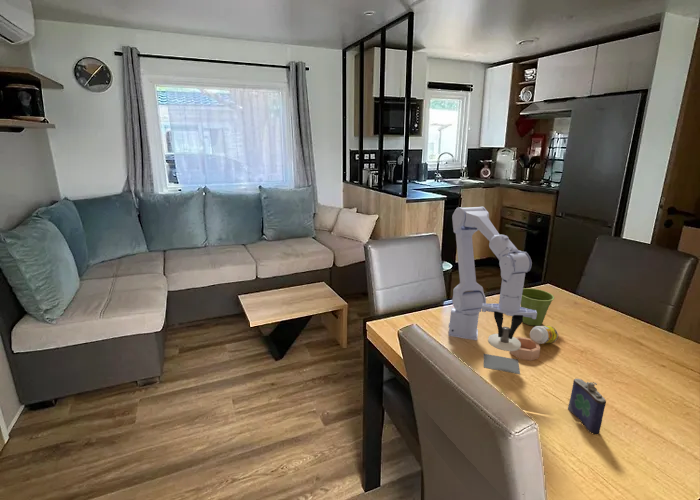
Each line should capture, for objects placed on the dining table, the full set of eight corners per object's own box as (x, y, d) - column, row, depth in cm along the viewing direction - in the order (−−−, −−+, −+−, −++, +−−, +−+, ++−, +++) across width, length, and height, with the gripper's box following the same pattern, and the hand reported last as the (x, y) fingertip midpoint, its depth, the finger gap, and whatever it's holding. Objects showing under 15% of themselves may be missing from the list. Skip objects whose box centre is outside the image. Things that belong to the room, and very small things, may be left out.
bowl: (509, 357, 119) (511, 348, 118) (508, 344, 126) (509, 335, 125) (539, 363, 116) (541, 353, 115) (536, 349, 124) (537, 339, 123)
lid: (488, 347, 110) (490, 332, 109) (487, 333, 119) (489, 319, 117) (522, 353, 108) (524, 338, 106) (519, 338, 116) (521, 324, 115)
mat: (483, 368, 113) (483, 367, 113) (483, 354, 120) (483, 353, 120) (520, 375, 110) (520, 374, 110) (517, 360, 117) (518, 359, 117)
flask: (565, 408, 97) (572, 371, 94) (575, 407, 97) (583, 371, 94) (592, 435, 88) (601, 396, 85) (603, 434, 88) (613, 395, 85)
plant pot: (547, 332, 135) (552, 303, 132) (511, 324, 141) (516, 295, 137) (550, 319, 144) (555, 292, 141) (517, 312, 150) (521, 285, 147)
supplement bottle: (555, 345, 126) (540, 347, 120) (539, 338, 131) (524, 339, 124) (561, 330, 126) (546, 330, 119) (544, 322, 130) (530, 323, 123)
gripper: (484, 295, 107) (478, 338, 111) (540, 302, 103) (533, 347, 107) (484, 286, 114) (479, 327, 118) (537, 293, 109) (530, 335, 113)
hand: (504, 336), depth 113 cm, fingers closed on lid, 2 cm apart
